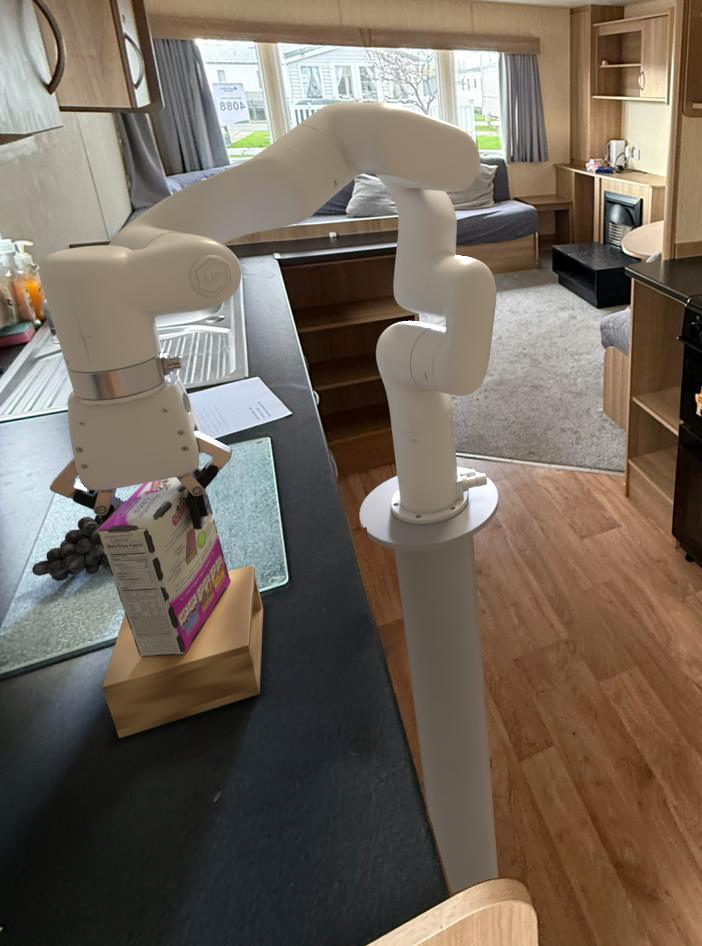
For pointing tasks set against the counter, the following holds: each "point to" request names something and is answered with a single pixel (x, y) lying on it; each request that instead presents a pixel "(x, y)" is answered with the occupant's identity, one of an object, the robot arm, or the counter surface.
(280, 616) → the counter surface
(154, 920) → the counter surface
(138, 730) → the wooden block
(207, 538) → the candy bar box
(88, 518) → the fruit
